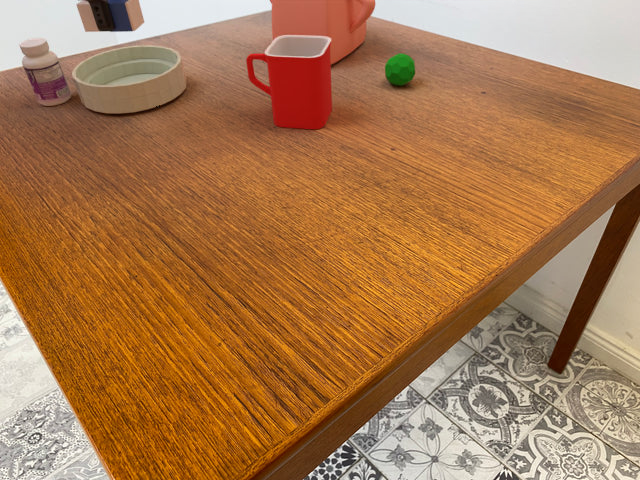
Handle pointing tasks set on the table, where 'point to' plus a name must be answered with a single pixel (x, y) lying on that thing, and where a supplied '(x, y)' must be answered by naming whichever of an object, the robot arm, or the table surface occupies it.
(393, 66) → the polyhedron
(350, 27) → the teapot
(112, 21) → the robot arm
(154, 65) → the bowl
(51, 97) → the pill bottle
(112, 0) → the eraser
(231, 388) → the table surface
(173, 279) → the table surface
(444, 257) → the table surface
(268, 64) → the mug
